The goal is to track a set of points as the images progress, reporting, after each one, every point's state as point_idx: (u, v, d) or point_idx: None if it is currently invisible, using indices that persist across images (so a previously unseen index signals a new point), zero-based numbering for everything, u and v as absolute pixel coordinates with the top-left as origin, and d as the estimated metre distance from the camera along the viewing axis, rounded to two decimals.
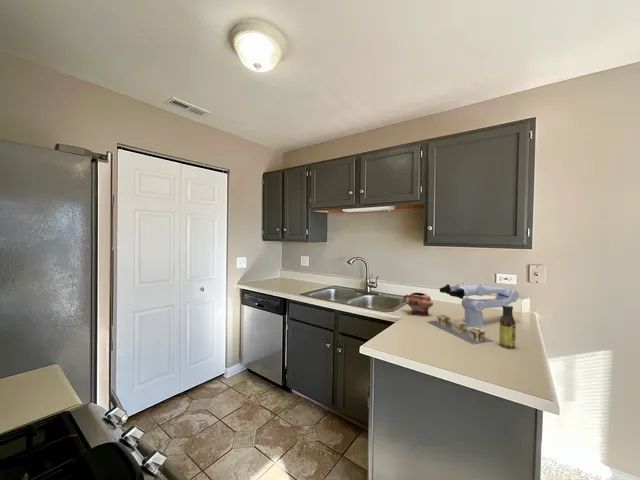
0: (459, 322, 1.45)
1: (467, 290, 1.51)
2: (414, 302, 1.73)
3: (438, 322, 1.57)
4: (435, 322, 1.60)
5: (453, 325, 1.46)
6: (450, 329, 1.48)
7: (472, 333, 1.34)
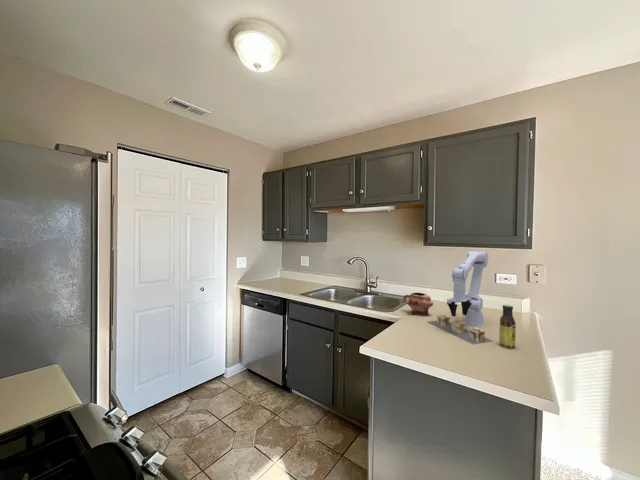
0: (459, 322, 1.45)
1: None
2: (414, 302, 1.73)
3: (438, 322, 1.57)
4: (435, 322, 1.60)
5: (453, 325, 1.46)
6: (450, 329, 1.48)
7: (472, 333, 1.34)
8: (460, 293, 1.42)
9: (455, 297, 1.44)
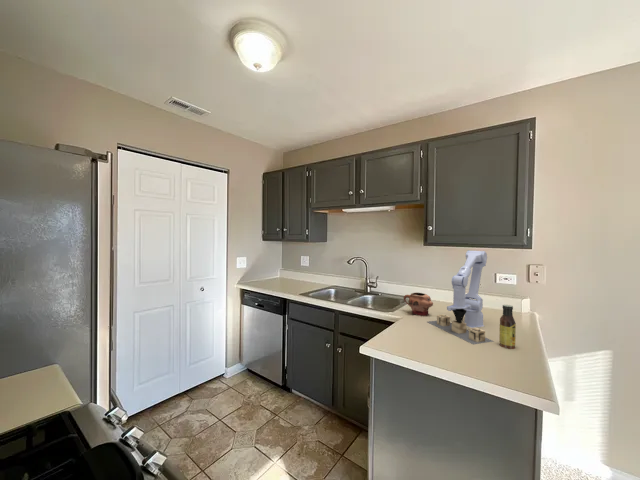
0: None
1: None
2: (414, 302, 1.73)
3: (438, 322, 1.57)
4: (435, 322, 1.60)
5: (453, 325, 1.46)
6: (450, 329, 1.48)
7: (472, 333, 1.34)
8: (460, 300, 1.42)
9: (455, 304, 1.44)
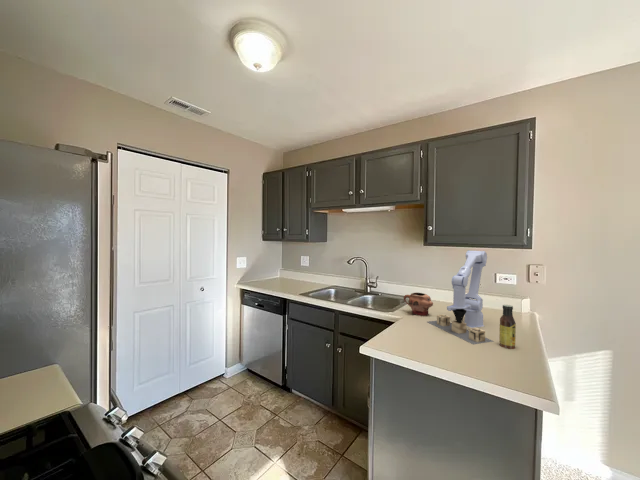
0: None
1: None
2: (414, 302, 1.73)
3: (438, 322, 1.57)
4: (435, 322, 1.60)
5: (453, 325, 1.46)
6: (450, 329, 1.48)
7: (472, 333, 1.34)
8: (460, 300, 1.42)
9: (455, 304, 1.44)
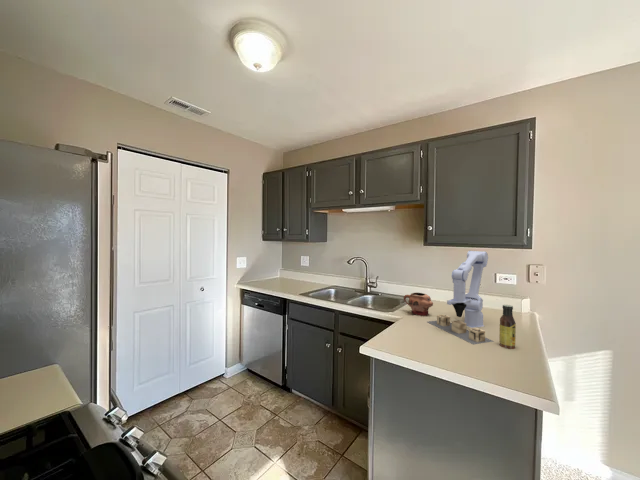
0: (459, 322, 1.45)
1: None
2: (414, 302, 1.73)
3: (438, 322, 1.57)
4: (435, 322, 1.60)
5: (453, 325, 1.46)
6: (450, 329, 1.48)
7: (472, 333, 1.34)
8: (460, 294, 1.42)
9: (455, 298, 1.44)
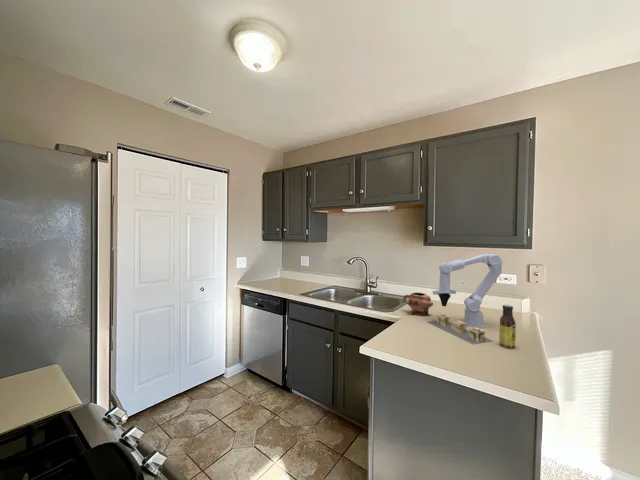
0: (459, 322, 1.45)
1: None
2: (414, 302, 1.73)
3: (438, 322, 1.57)
4: (435, 322, 1.60)
5: (453, 325, 1.46)
6: (450, 329, 1.48)
7: (472, 333, 1.34)
8: (445, 285, 1.57)
9: (440, 289, 1.59)
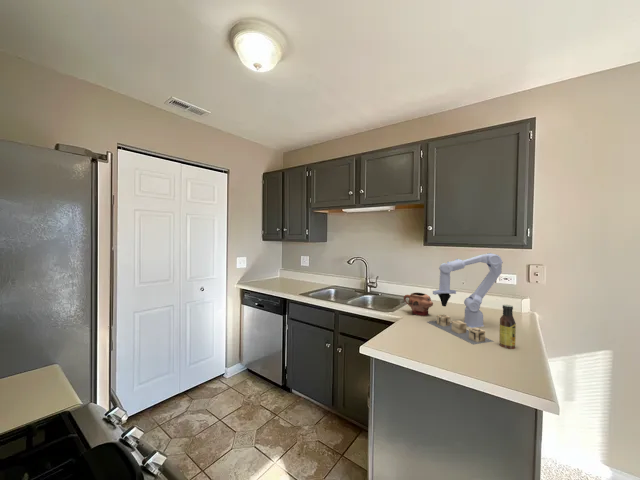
0: (459, 322, 1.45)
1: None
2: (414, 302, 1.73)
3: (438, 322, 1.57)
4: (435, 322, 1.60)
5: (453, 325, 1.46)
6: (450, 329, 1.48)
7: (472, 333, 1.34)
8: (445, 285, 1.57)
9: (440, 289, 1.59)
